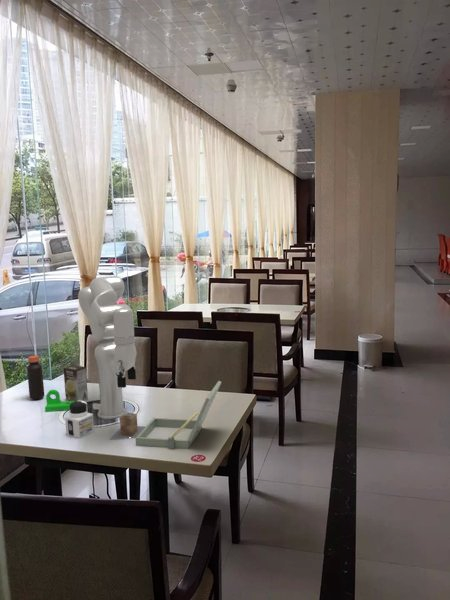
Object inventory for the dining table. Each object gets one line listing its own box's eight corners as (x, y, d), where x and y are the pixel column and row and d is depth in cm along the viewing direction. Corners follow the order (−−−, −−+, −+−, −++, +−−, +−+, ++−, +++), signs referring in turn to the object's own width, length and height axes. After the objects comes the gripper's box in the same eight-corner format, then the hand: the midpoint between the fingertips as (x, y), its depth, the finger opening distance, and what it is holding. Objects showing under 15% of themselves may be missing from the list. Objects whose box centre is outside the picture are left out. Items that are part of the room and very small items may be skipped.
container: (79, 439, 203) (77, 407, 201) (66, 435, 207) (63, 403, 205) (94, 432, 209) (92, 400, 207) (80, 428, 213) (78, 397, 211)
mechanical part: (45, 411, 235) (43, 394, 233) (48, 406, 241) (46, 390, 239) (73, 409, 236) (71, 392, 235) (75, 404, 242) (73, 388, 241)
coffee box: (65, 400, 247) (62, 367, 245) (75, 396, 253) (73, 364, 250) (78, 404, 242) (76, 370, 240) (89, 399, 248) (86, 366, 245)
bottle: (41, 399, 251) (38, 358, 248) (27, 399, 251) (23, 358, 248) (46, 394, 257) (43, 354, 254) (32, 394, 257) (29, 355, 254)
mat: (108, 440, 201) (108, 439, 201) (123, 426, 214) (123, 425, 214) (136, 442, 198) (136, 441, 198) (148, 427, 212) (148, 426, 212)
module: (120, 435, 204) (119, 416, 203) (125, 430, 209) (124, 411, 208) (133, 435, 204) (131, 417, 202) (137, 430, 208) (136, 412, 207)
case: (134, 448, 193) (131, 395, 190) (154, 426, 214) (151, 378, 211) (210, 453, 187) (208, 399, 184) (223, 429, 208) (221, 380, 205)
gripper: (124, 334, 210) (126, 375, 213) (105, 345, 194) (108, 390, 196) (142, 335, 209) (144, 376, 211) (124, 346, 192) (127, 391, 195)
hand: (127, 383), depth 204 cm, fingers open, 9 cm apart
